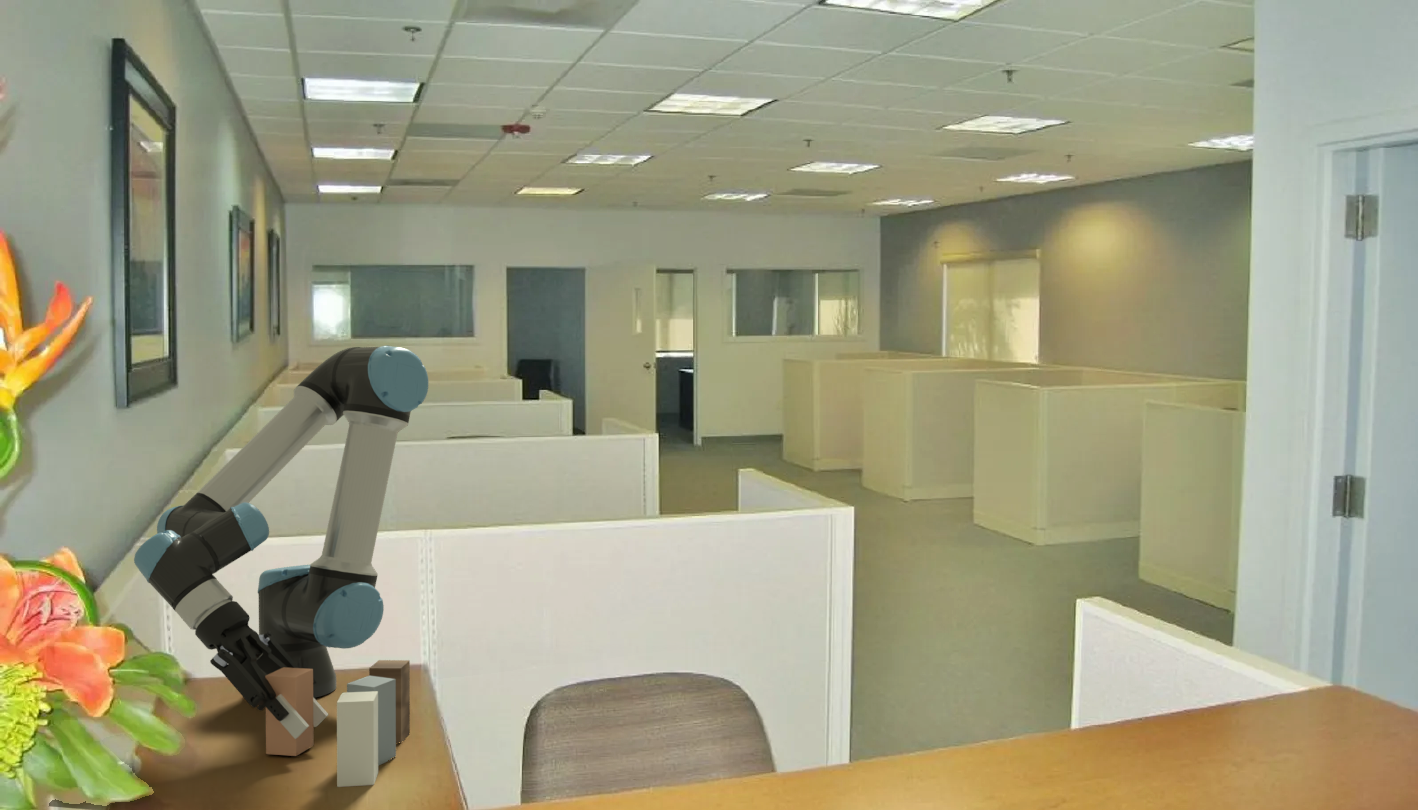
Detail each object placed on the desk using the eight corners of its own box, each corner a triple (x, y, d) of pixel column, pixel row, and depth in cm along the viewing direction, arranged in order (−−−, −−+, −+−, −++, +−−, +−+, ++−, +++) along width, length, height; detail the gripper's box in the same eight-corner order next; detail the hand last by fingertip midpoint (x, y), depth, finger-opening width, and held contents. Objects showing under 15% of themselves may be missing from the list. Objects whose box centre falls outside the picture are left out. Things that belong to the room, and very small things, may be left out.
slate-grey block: (369, 753, 173) (368, 675, 172) (395, 757, 171) (395, 678, 170) (347, 763, 168) (346, 683, 168) (374, 767, 166) (373, 687, 166)
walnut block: (379, 733, 182) (378, 660, 182) (409, 733, 182) (409, 660, 182) (369, 743, 177) (369, 668, 177) (401, 743, 177) (400, 668, 177)
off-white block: (342, 774, 163) (342, 692, 163) (378, 772, 164) (378, 691, 164) (337, 786, 158) (336, 702, 158) (373, 784, 159) (373, 700, 159)
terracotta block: (284, 743, 176) (283, 667, 175) (313, 745, 175) (312, 668, 174) (266, 753, 171) (265, 675, 170) (296, 756, 170) (295, 677, 170)
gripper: (233, 619, 184) (326, 724, 181) (160, 645, 166) (263, 762, 164) (262, 588, 183) (356, 693, 180) (192, 611, 165) (296, 728, 163)
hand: (312, 726), depth 172 cm, fingers closed on terracotta block, 5 cm apart
